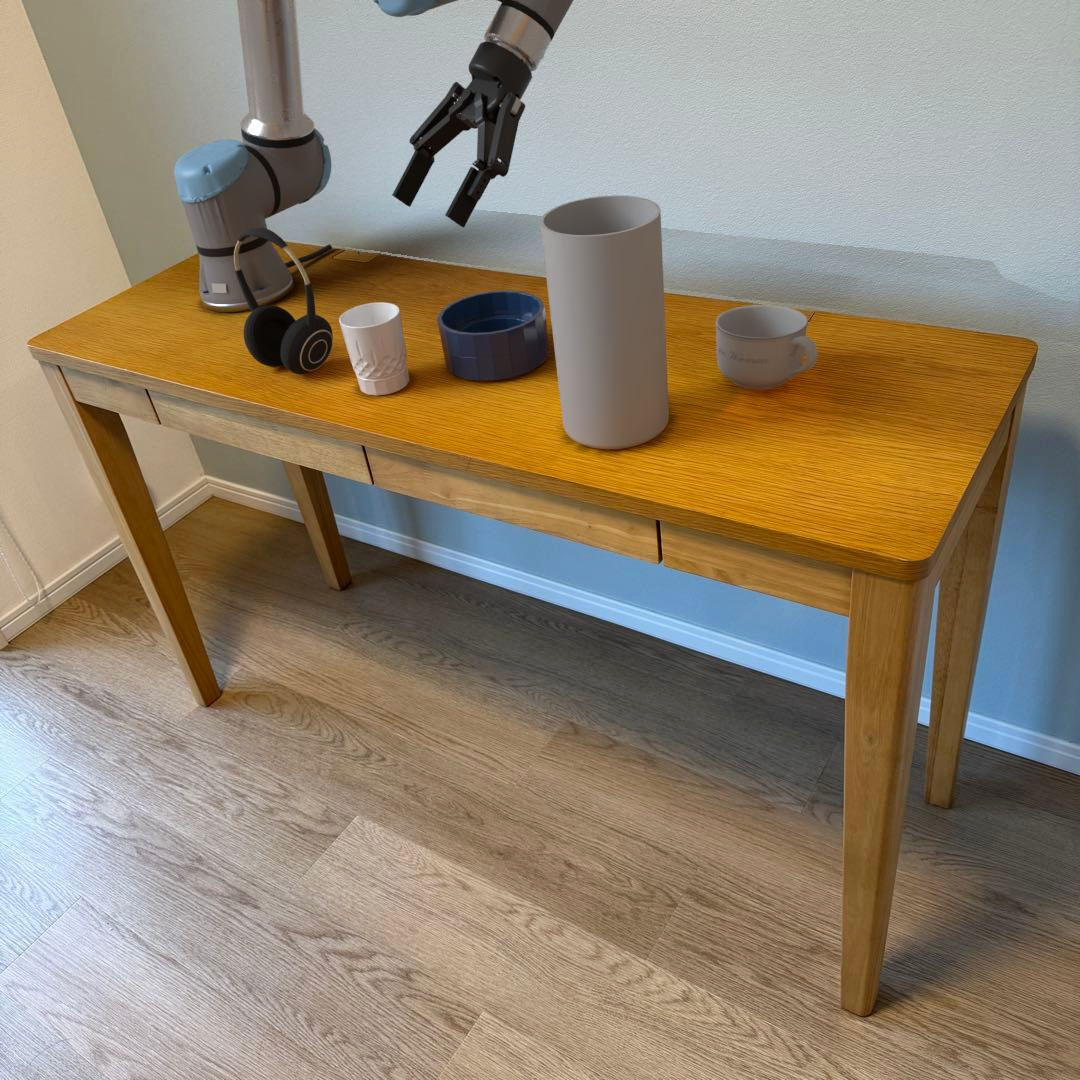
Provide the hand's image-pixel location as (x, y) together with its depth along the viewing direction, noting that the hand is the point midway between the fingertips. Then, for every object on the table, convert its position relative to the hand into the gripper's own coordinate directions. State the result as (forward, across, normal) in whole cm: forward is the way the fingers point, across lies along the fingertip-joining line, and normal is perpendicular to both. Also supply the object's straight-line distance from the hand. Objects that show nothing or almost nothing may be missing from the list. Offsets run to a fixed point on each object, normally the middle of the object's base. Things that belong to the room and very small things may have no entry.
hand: (426, 211), depth 127 cm
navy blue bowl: (+12, -5, -17) cm, 21 cm away
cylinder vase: (+12, -31, -17) cm, 38 cm away
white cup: (+22, 0, -7) cm, 23 cm away
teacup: (-2, -37, -31) cm, 48 cm away
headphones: (+27, +15, -2) cm, 30 cm away
